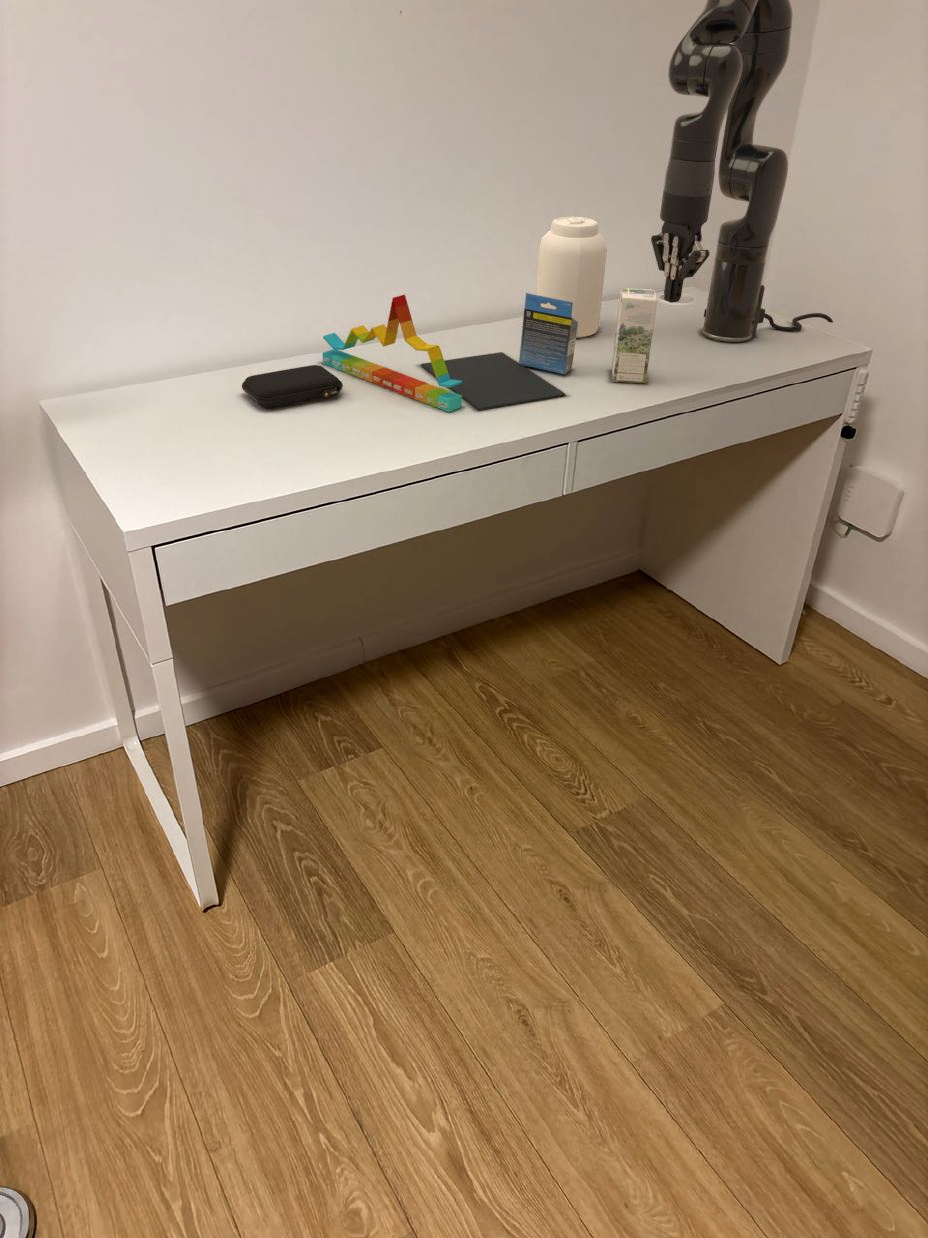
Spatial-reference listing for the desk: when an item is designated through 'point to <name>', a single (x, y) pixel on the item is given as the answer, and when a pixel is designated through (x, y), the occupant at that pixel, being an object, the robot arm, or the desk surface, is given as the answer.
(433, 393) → the chart
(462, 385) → the mat
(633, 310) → the syrup box
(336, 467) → the desk surface
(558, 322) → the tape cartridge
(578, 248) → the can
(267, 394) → the carrying case
